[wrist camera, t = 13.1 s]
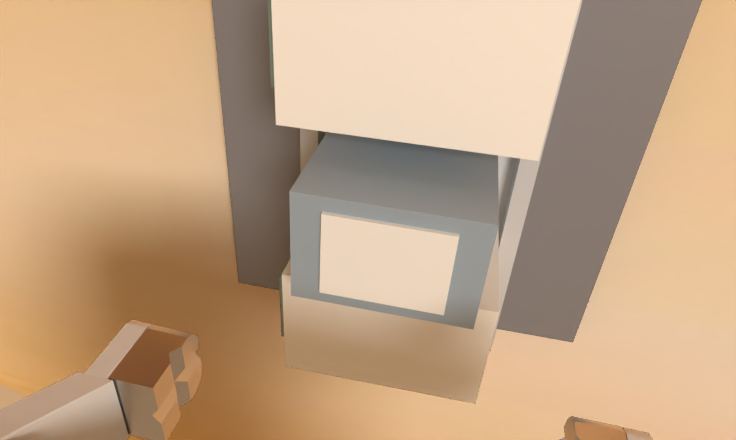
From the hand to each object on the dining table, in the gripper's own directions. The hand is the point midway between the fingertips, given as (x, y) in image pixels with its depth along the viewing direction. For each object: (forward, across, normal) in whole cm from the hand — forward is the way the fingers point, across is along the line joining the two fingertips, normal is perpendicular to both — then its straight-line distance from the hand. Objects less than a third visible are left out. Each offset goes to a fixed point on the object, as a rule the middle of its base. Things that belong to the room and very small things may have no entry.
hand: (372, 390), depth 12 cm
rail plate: (+16, +1, 0) cm, 16 cm away
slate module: (+14, +1, +1) cm, 14 cm away
